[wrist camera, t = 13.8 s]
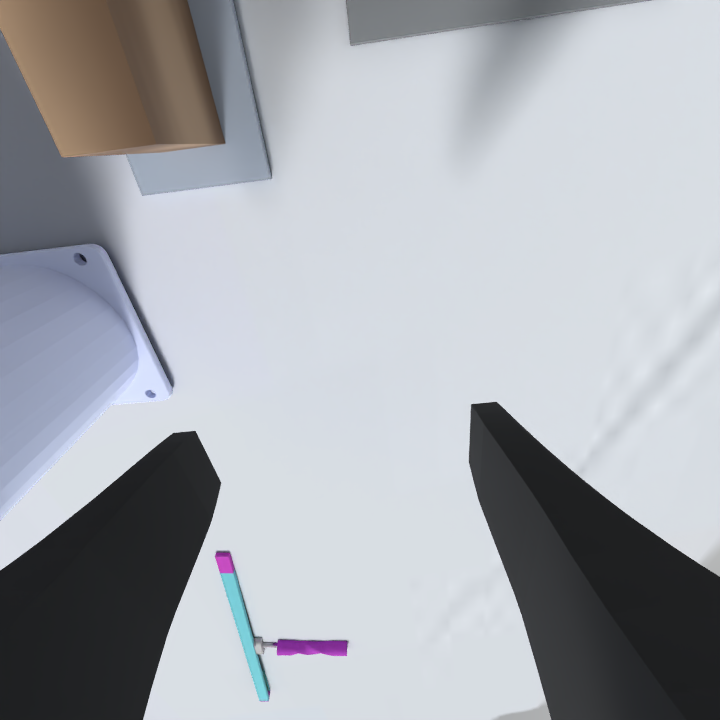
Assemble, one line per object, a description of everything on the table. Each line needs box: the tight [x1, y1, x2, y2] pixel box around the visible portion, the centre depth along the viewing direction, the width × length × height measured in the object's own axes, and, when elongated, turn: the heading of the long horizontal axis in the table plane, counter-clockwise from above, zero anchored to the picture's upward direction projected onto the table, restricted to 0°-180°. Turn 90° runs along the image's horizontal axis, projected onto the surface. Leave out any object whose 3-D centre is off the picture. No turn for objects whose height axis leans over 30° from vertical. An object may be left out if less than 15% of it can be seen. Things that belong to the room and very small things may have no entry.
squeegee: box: [215, 553, 347, 701], centre depth 34 cm, size 29×2×10 cm
